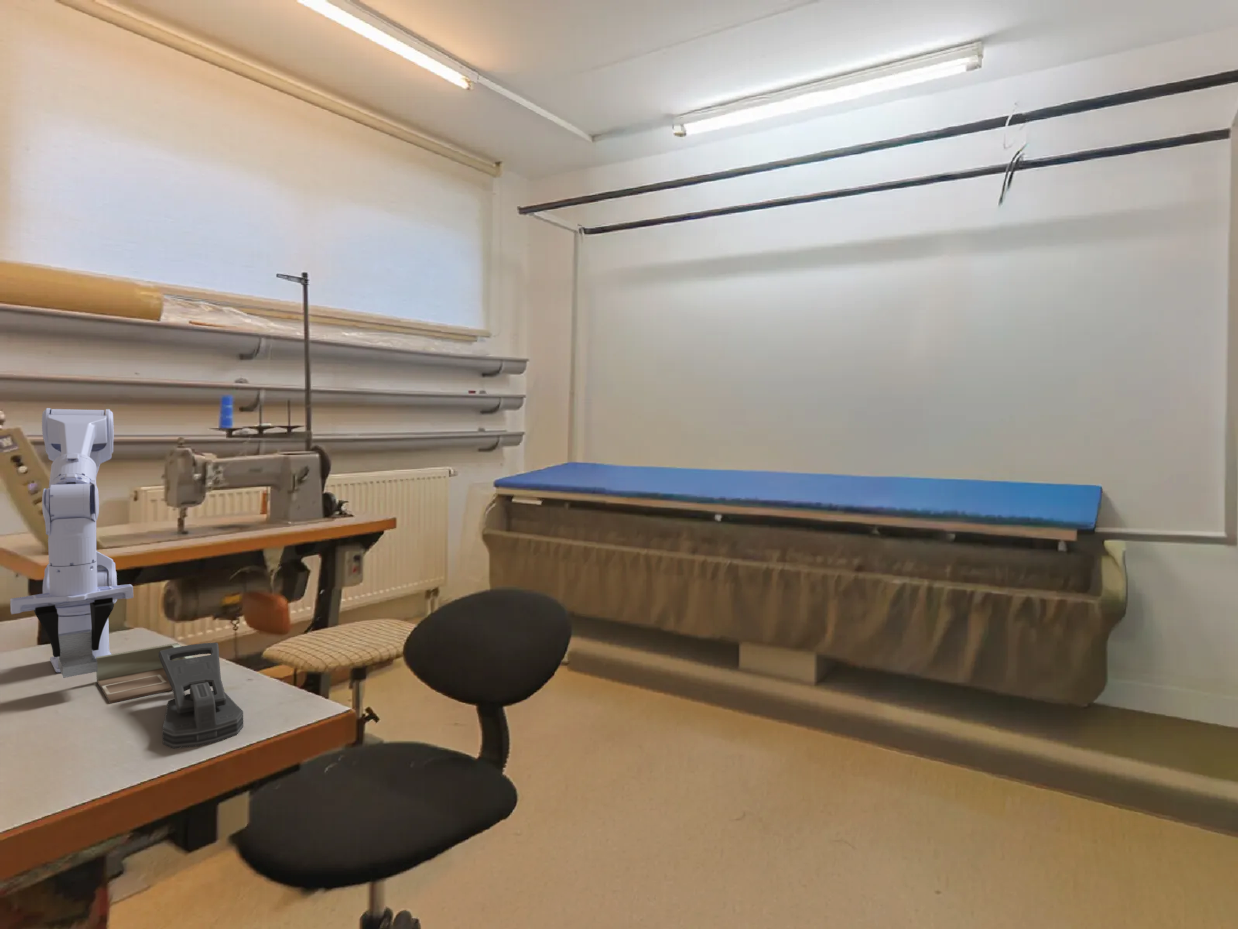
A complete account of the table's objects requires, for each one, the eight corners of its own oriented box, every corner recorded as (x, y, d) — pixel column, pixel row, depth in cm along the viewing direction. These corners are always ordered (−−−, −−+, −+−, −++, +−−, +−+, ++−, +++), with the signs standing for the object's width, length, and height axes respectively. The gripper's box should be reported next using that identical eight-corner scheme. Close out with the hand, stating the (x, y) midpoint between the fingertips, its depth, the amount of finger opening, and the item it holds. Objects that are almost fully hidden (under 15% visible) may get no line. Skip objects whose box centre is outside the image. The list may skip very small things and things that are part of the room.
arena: (96, 681, 110) (96, 657, 110) (177, 665, 117) (177, 642, 117) (110, 703, 101) (109, 676, 101) (197, 684, 108) (196, 659, 108)
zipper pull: (221, 639, 110) (246, 685, 90) (222, 681, 110) (247, 736, 90) (153, 649, 105) (163, 700, 84) (154, 693, 105) (164, 754, 85)
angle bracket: (58, 666, 106) (57, 634, 106) (91, 660, 109) (90, 629, 109) (63, 678, 101) (62, 644, 101) (97, 671, 104) (96, 638, 104)
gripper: (11, 573, 98) (14, 669, 98) (136, 560, 108) (138, 648, 108) (8, 566, 103) (11, 657, 103) (127, 554, 113) (129, 638, 113)
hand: (75, 652), depth 106 cm, fingers closed on angle bracket, 4 cm apart
